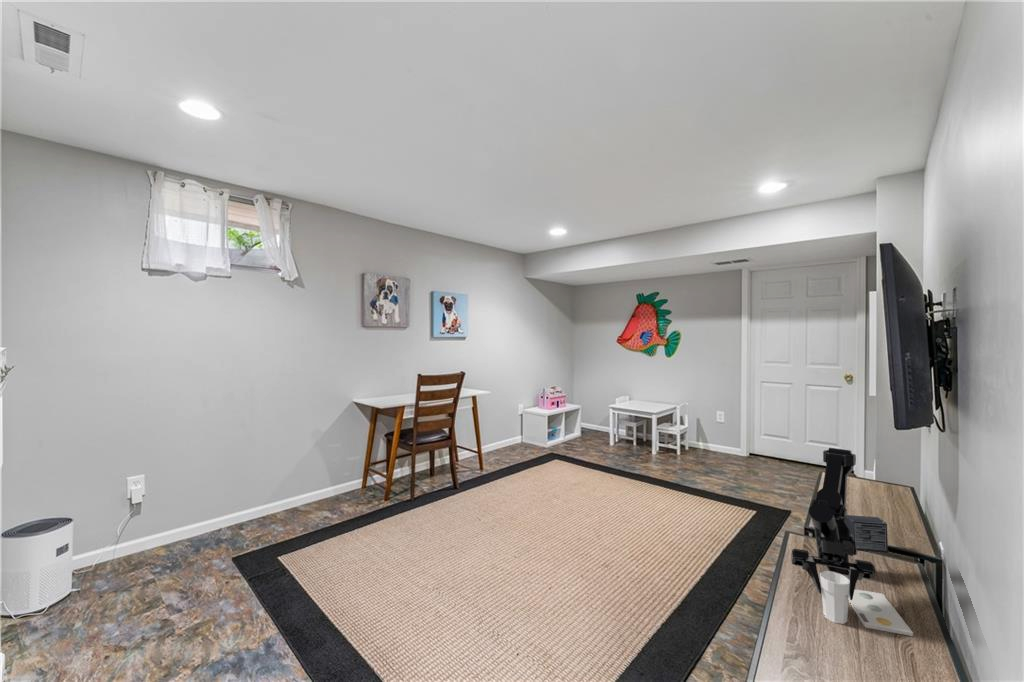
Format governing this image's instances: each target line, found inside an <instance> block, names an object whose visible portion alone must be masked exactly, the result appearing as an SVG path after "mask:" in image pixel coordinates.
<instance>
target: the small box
mask: <svg viewBox="0 0 1024 682" xmlns="http://www.w3.org/2000/svg"><path fill="white" fill-rule="evenodd" d="M845 522H846V524H847V525H848V527H849V529H850V530H851V537H853V539H854V541H855V543H856V551H863V552H874V553H885V554H888V553H889V548H888V547H889V545H888V541H889V539H888V523H887V522H885V521H884V520H883V519H882V518H879V517H878V516H865V515H853V514H852V515H851V514H846V518H845Z"/></svg>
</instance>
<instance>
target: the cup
mask: <svg viewBox="0 0 1024 682" xmlns="http://www.w3.org/2000/svg"><path fill="white" fill-rule="evenodd" d="M819 581H820V585H821V601H822V612H823V613H822V614H823V616H824V615H825V616H824V617H825V618H827V619H826V620H828V619H829V621H830V622H833V623H834V624H840V625H844V624H846V623H847V622H848V613H849V612H848V611H849V601H848V598H849V592H850V580H849V579H848V576H845V575H843V573H842V574H841V573H840V572H834V571H829V570H823V571H820V572H819Z"/></svg>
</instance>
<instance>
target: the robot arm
mask: <svg viewBox="0 0 1024 682" xmlns="http://www.w3.org/2000/svg"><path fill="white" fill-rule="evenodd" d="M822 457H823V459H822V462H823V463H825V466H826V467H825V471H824V477H823V483H822V488H821V489H819V490H818V491H817V492H816V494H815V495H816V496H815V498H813V499H812V501H811V504H810V506H809V509H808V513H809V517H810V519H811V522H812V525H813V527H814V537H815V542H816V550H817V551H816V552H817V556H814V555H809V554H810V553H809V551H808V550H805V549H799V548H793V549H792V550H791V554H790V557H791V558H790V560H791V565H793V566H798V567H801V568H802V570H804V571H806V572H807V574H808V576H809V577H810V578H811V580H812V582H813V584H814V585H815V588H816V591H818V593H819V594H821V595H822V589H821V584H820V576H819V574H818V573H819V572H818V568H817V565H818V566H825V567H826V568H827V570H828V571H831V572H836V573H839V574H841V573H842V574H848V575H847V578H848V579H849V580H850V592H849V597H850V600H852V599H853V595H854V590H855V589H856V584H857V581H862V579H866V580H873V579H874V576H875V575H876V573H877V572H876V567H875V565H874V564H873V562H871V561H867V560H861V559H854V562H850V556H851V557H853V556H856V555H857V552H858V551H857V550H856V543H855V541H854V539H853V537H851V530H850V529H849V527H848V525H847V524H846V522H845V518H846V515H848V514H847V513H848V509H847V491H848V490H847V486H848V485H847V484H848V476H849V475H850V474H851V473H852V472H853V471H854V467H855V466H856V463H857V456H856V454H855V453H852V450H849V449H842V448H835V447H829V448H828V449H827V450H826V449H824V450H823V451H822Z"/></svg>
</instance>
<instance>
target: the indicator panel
mask: <svg viewBox="0 0 1024 682" xmlns="http://www.w3.org/2000/svg"><path fill="white" fill-rule="evenodd" d="M848 600H849V601H848V603H849V604H850V603H851V604H850V605H852V609H853V610H854V612H855V614H856V615H857V617H858V618H859V620H860V622H861V623H862V625H863V627H864V628H867V629H872V630H877V631H883V632H888V633H894V634H899V635H905V636H911V637H914V632H913V631H912V630H911V628H910V627H909V626H908V624H907V623H906V622H905V620H904V619H903V618H902V617H901V615H900V614H899V613H898V612H897V610H896V609H895V607H894V606H893V605H892V603H891V602H890V601H889V599H887V596H885V595H884V593H881V592H875V591H874V592H873V591H869V590H861V589H856V588H855V590H854V595H853V599H852V600H850V597H849V598H848Z"/></svg>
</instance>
